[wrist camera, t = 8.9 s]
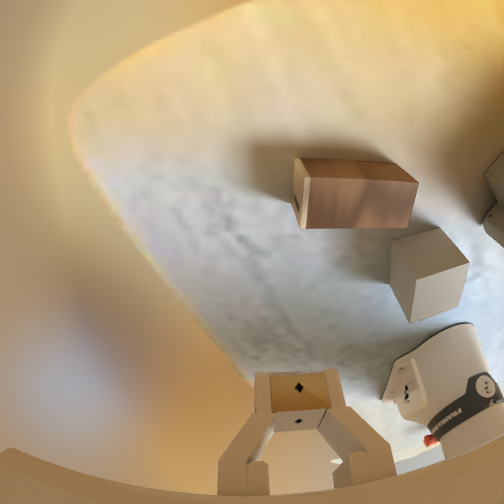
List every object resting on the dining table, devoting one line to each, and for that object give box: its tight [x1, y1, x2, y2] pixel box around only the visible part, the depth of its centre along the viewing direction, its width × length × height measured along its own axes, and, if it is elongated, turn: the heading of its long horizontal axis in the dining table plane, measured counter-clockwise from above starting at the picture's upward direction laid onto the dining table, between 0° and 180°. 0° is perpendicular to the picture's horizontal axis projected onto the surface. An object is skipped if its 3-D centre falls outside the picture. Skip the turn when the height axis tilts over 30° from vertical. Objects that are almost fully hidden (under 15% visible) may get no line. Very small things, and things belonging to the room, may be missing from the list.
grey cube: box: [389, 228, 470, 324], centre depth 27 cm, size 6×6×6 cm
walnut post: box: [291, 158, 419, 229], centre depth 23 cm, size 4×4×9 cm
